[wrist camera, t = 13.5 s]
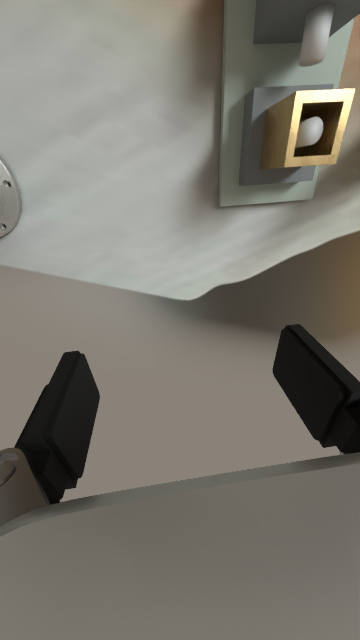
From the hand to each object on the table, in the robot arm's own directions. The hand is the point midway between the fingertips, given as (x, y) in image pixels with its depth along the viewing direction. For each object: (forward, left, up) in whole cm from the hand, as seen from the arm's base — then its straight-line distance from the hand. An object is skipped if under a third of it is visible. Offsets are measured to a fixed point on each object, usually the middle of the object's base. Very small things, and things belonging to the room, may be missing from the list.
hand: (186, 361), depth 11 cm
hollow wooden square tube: (+16, +10, -24) cm, 31 cm away
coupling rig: (+16, +15, -28) cm, 36 cm away
